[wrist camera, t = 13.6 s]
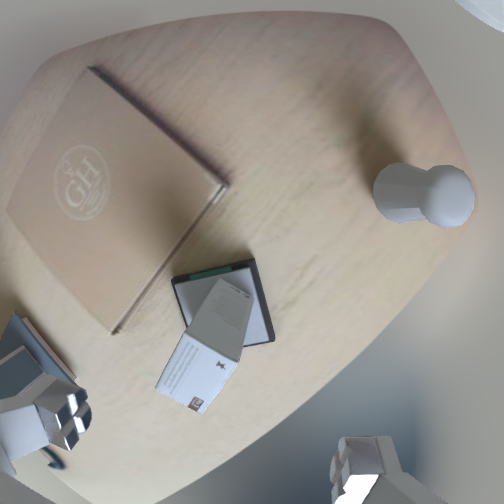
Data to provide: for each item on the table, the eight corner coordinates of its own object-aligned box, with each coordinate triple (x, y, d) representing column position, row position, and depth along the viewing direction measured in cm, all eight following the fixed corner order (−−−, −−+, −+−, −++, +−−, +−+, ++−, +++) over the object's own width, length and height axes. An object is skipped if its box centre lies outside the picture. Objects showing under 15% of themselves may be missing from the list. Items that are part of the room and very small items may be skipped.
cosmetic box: (218, 275, 31) (180, 325, 19) (257, 298, 31) (241, 360, 20) (191, 323, 33) (148, 387, 21) (228, 344, 33) (201, 417, 21)
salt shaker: (399, 153, 29) (463, 136, 16) (427, 200, 29) (499, 210, 17) (355, 184, 30) (401, 182, 17) (385, 231, 31) (443, 258, 18)
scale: (174, 276, 34) (168, 281, 32) (254, 258, 32) (252, 262, 31) (198, 350, 35) (194, 357, 33) (275, 336, 34) (274, 344, 32)
